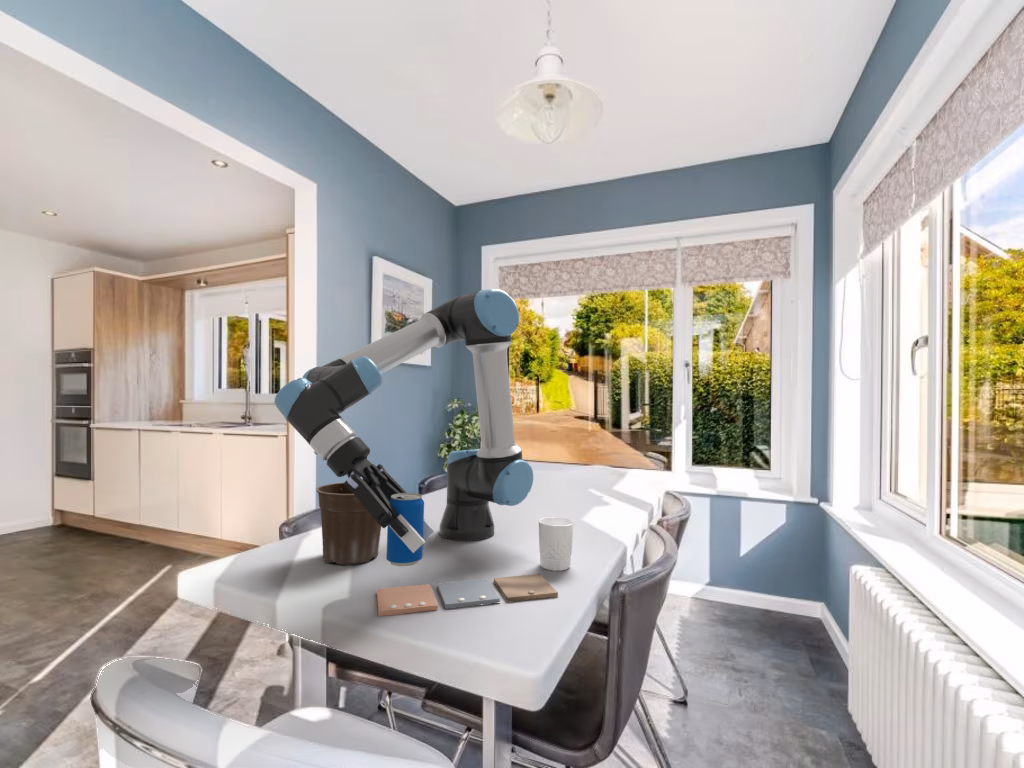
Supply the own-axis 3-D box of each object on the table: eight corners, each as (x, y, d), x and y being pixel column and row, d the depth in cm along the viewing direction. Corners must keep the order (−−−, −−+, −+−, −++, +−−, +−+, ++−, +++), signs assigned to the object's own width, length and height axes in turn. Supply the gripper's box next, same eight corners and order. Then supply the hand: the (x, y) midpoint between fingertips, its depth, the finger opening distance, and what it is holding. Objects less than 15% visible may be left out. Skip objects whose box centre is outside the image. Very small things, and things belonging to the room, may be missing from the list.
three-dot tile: (376, 593, 92) (376, 587, 92) (429, 588, 95) (429, 583, 95) (378, 616, 83) (378, 610, 83) (437, 609, 86) (437, 604, 86)
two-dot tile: (437, 587, 96) (437, 582, 96) (486, 582, 99) (486, 577, 99) (445, 608, 86) (445, 603, 86) (499, 603, 89) (499, 597, 89)
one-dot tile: (493, 582, 99) (493, 577, 99) (539, 577, 102) (539, 572, 102) (507, 602, 89) (507, 596, 89) (557, 596, 92) (557, 591, 92)
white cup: (550, 557, 115) (551, 515, 115) (579, 565, 110) (580, 521, 110) (530, 566, 109) (531, 521, 109) (560, 574, 104) (560, 527, 104)
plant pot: (373, 542, 124) (375, 479, 124) (398, 560, 111) (400, 489, 111) (306, 553, 114) (308, 484, 115) (325, 574, 101) (327, 496, 102)
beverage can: (384, 557, 91) (386, 493, 91) (419, 554, 93) (421, 491, 93) (388, 569, 85) (390, 500, 85) (425, 565, 87) (427, 498, 87)
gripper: (349, 456, 100) (423, 540, 98) (300, 470, 81) (392, 574, 79) (374, 431, 100) (450, 515, 98) (332, 439, 81) (425, 543, 79)
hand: (424, 541), depth 89 cm, fingers closed on beverage can, 6 cm apart
